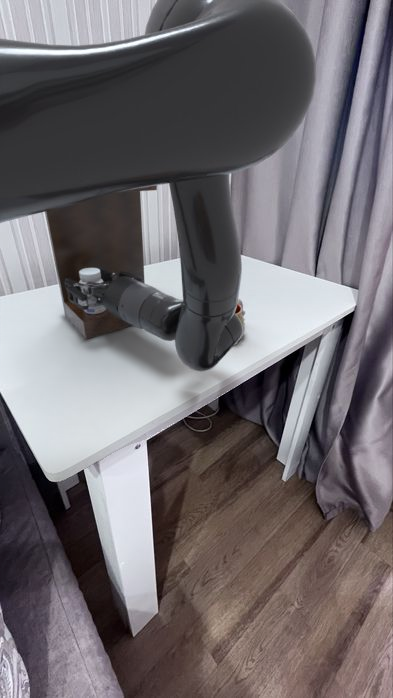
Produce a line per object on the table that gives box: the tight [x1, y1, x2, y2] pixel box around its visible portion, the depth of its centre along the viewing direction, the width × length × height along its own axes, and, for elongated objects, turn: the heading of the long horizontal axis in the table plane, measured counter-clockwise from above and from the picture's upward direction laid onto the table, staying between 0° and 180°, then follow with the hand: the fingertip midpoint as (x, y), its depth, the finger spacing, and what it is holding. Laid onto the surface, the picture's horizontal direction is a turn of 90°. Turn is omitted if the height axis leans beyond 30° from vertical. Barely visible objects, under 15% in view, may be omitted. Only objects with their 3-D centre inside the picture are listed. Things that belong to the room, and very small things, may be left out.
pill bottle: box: [79, 268, 106, 314], centre depth 67 cm, size 5×5×8 cm
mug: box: [235, 298, 246, 345], centre depth 70 cm, size 12×7×7 cm, turn 152°
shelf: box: [44, 185, 158, 340], centre depth 69 cm, size 20×12×27 cm, turn 127°
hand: (84, 278), depth 67 cm, fingers open, 7 cm apart
